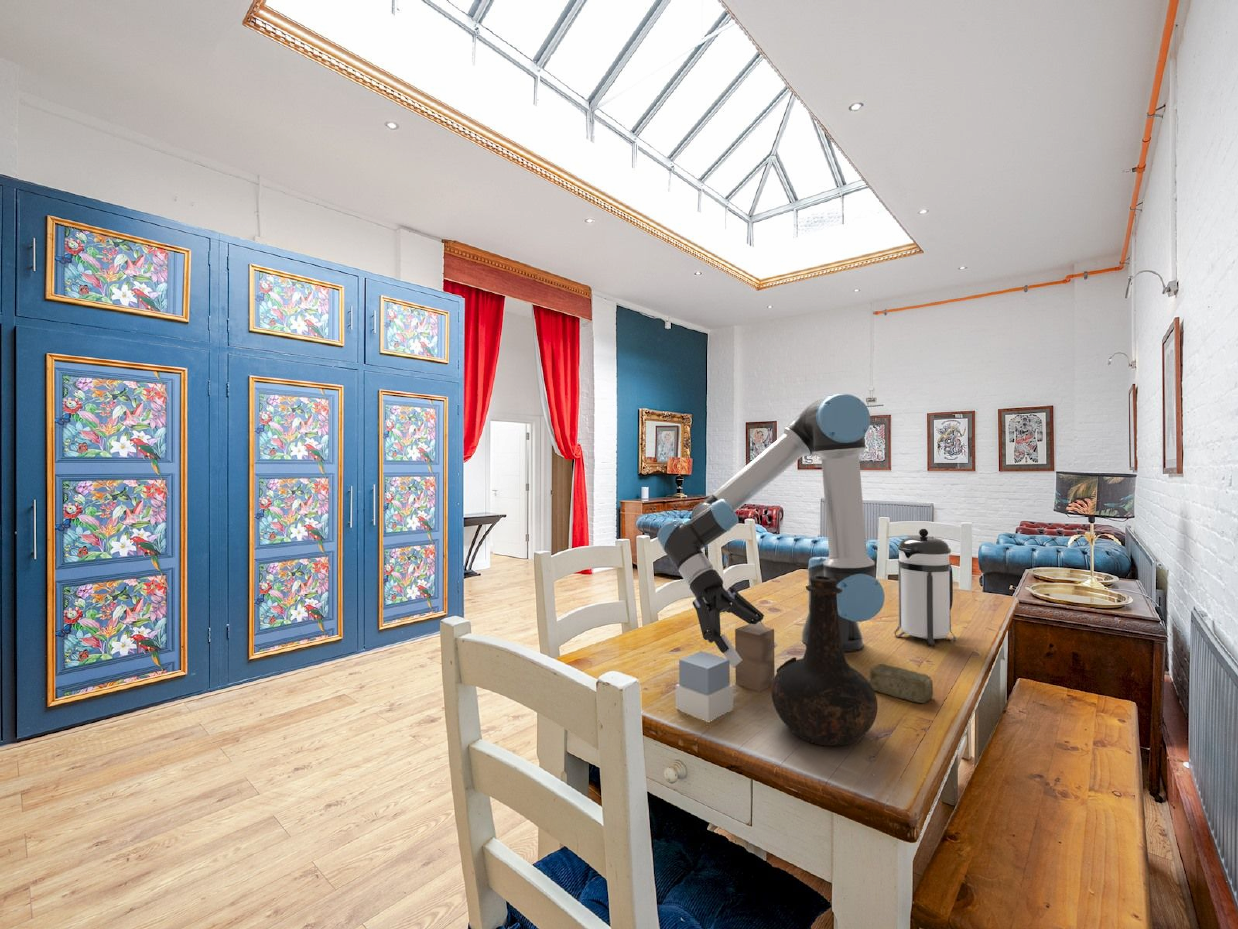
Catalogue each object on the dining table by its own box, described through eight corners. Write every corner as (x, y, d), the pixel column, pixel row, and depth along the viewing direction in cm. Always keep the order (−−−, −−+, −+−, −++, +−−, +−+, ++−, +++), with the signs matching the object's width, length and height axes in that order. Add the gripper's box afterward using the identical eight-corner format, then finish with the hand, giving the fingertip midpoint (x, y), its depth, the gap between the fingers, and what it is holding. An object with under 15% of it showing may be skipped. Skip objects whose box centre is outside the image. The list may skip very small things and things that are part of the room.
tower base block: (701, 698, 116) (700, 674, 116) (733, 710, 111) (733, 685, 111) (675, 710, 111) (675, 685, 111) (708, 724, 105) (708, 697, 105)
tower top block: (701, 675, 116) (701, 651, 116) (729, 685, 111) (729, 659, 111) (679, 685, 111) (679, 659, 111) (708, 695, 106) (707, 668, 106)
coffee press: (966, 650, 144) (965, 533, 144) (897, 644, 149) (896, 530, 149) (952, 631, 160) (951, 525, 160) (890, 626, 166) (889, 524, 166)
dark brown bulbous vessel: (802, 703, 113) (801, 564, 113) (894, 734, 100) (893, 576, 100) (751, 733, 101) (750, 576, 101) (849, 772, 88) (848, 593, 88)
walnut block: (751, 676, 128) (750, 623, 128) (774, 683, 123) (774, 629, 123) (735, 683, 124) (735, 629, 124) (759, 691, 119) (758, 634, 119)
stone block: (925, 707, 111) (925, 682, 111) (866, 691, 119) (866, 667, 119) (934, 698, 115) (934, 674, 115) (877, 683, 123) (876, 661, 123)
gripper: (724, 579, 144) (776, 652, 133) (657, 595, 127) (710, 680, 116) (741, 561, 140) (796, 634, 129) (674, 575, 123) (731, 661, 112)
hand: (756, 656), depth 123 cm, fingers open, 13 cm apart
